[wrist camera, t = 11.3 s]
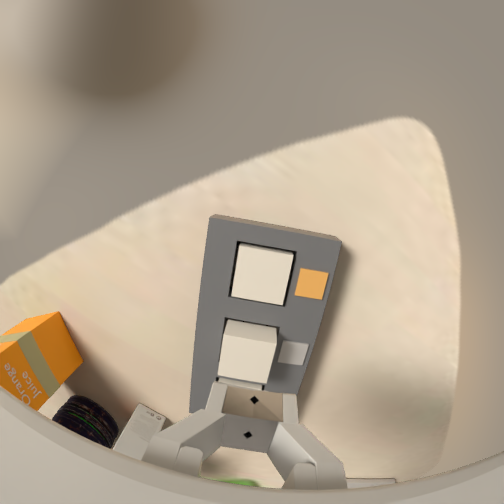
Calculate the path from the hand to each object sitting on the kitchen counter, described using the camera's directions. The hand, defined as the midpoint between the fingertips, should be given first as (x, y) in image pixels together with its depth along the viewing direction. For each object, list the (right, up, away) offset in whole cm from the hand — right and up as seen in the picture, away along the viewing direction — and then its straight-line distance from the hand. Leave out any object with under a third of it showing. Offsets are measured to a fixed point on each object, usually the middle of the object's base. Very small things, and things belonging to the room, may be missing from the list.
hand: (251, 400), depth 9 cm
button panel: (0, -3, +18) cm, 19 cm away
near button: (+1, +4, +17) cm, 17 cm away
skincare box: (-15, -18, +23) cm, 33 cm away
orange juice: (-28, -7, +21) cm, 36 cm away
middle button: (0, -3, +16) cm, 17 cm away
